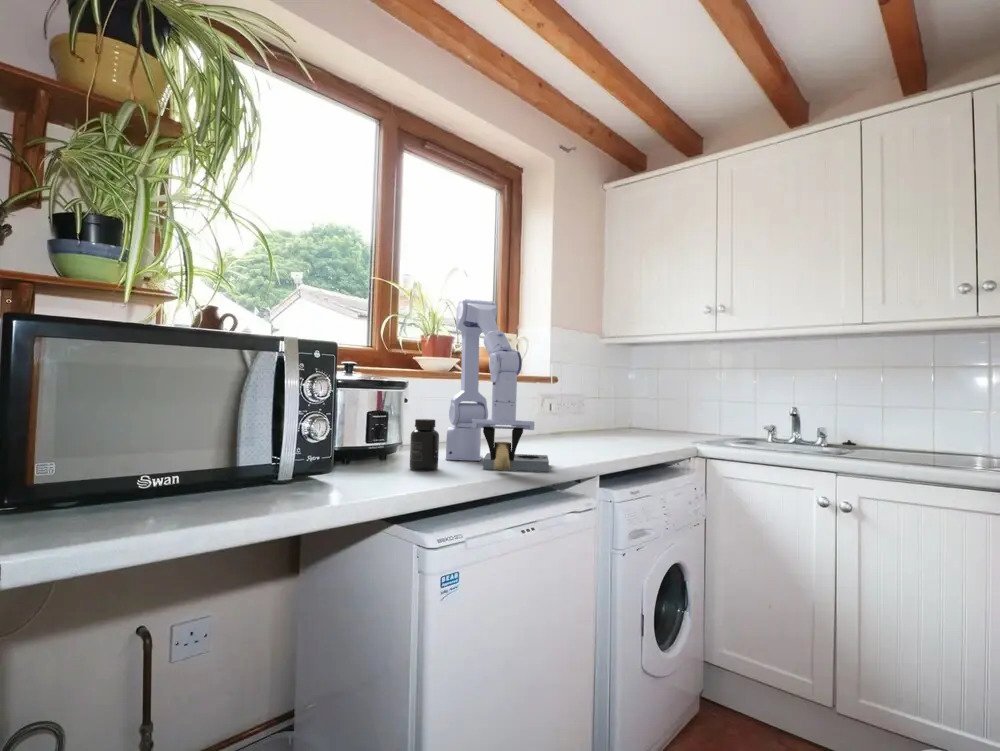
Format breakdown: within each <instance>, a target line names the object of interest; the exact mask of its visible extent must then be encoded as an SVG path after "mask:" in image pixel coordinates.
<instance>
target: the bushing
mask: <svg viewBox="0 0 1000 751" xmlns="http://www.w3.org/2000/svg"><path fill="white" fill-rule="evenodd" d="M511 450H512V441H511V442H510V441H494V469H500V470H499V471H508V470H507V469H511Z"/></svg>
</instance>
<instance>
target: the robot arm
mask: <svg viewBox="0 0 1000 751" xmlns="http://www.w3.org/2000/svg"><path fill="white" fill-rule="evenodd" d="M497 315H498V308H497V304H496V303H495V301H494V300H490V301H489V300H482V299H481V300H480V299H479V300H478V299H467V298H465V297H462V298H461V299H460V300H459V301H458V303H457V307H456V317H455V320H456V321H455V322H456V330H459V331H460V332H461V364H460V365H461V370H460V371H461V374H460V375H461V377H460V386H461V387H460V391H459V392H457V393H456V394H455V395H454V396H453V397H452V398H450V399H451V400H450V406H449V410H448V412H449V413H448V414H449V415H448V416H449V421H450V424H451V425H452V426H448V427H447V431H446V442H445V444H446V446H445V448H446V449H445V460H447V461H448V460H450V461H475V462H476V461H477V462H478V461H479V462H481V460H483V458H484V456H483V455H481V443H482V441H481V440H482V432H483V436H484V438H485V440H486V443H487V445H488V449H489V453H490V456H491V460H494V442H495V437H496V436H495V435H496V434H495V433H496V432H495V431H496V429H499V430H500V429H502V430H503V429H504V430H512V431H511V461H514V455H515V454H516V450H517V446H518V444H519V442H520V439H521V437H522V435H523V434H524V430H529V431H535V421H534V420H533V421H531V420H516V419H517V391H518V389H517V386H518V376H519V375H520V373H521V370H522V368H523V366H522V365H523V359H522V355H521V353H520V351H519V350H516V349H514V348H512V346H511V345H510V342H509V339H508V337H507V336H506V334H505V333H504V332H503V331H501V330H499V327H498V324H497V321H496V319H497ZM481 334H483V335H484V338H483V345H484V348H485V349H486V352H487V354H488V357H489V362H488V369H489V374H490V382H492V390H491V391H492V392H491V393H492V396H491V419H489V410H488V404H487V403H488V402H487V401H488V400H487V398H486V397H485V396H484V395H483V394H482V393H480V391H479V380H480V379H479V370H480V336H481ZM473 402H474V403H473ZM498 425H499V426H498ZM482 429H483V430H482Z"/></svg>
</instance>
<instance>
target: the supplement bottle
mask: <svg viewBox="0 0 1000 751" xmlns="http://www.w3.org/2000/svg"><path fill="white" fill-rule="evenodd" d="M414 420H415V421H414V422H415V424H414V428H415V429H414V430H413V431H411V433H410V446H409V447H410V448H409V468H410V470H412V471H418V472H430V471H432V472H433V471H436V470H438V468H439V449H440V447H439V446H440V445H439V444H440V434H439V432H438V431H437V430H436V429H435V428H436V427H437V426H436V419H431V418H417V419H414Z"/></svg>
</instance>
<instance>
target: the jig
mask: <svg viewBox="0 0 1000 751" xmlns="http://www.w3.org/2000/svg"><path fill="white" fill-rule="evenodd" d="M549 460H550V459H549V457H548V455H547V454H522V453H515V455H514V461H511V469H507V470H506V471H511V470H518V471H517V472H537V471H540V472H539V473H542V472H543V473H549V470H550V468H549V466H550V465H549V464H550V461H549ZM482 462H483V463H482V470H485V471H489V470H490V471H491V470H492V471H501V470H500V469H494V460H491V456H490V452H487V453H486V454H485V456H483V458H482Z"/></svg>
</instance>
